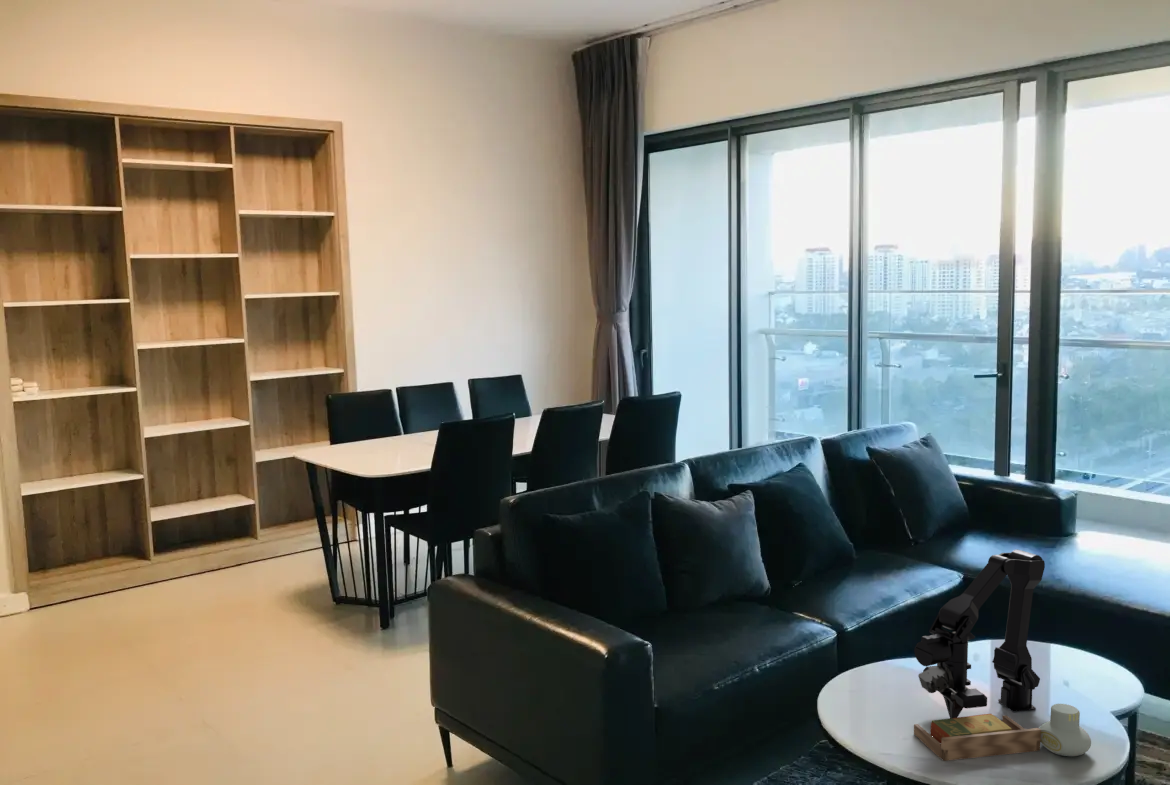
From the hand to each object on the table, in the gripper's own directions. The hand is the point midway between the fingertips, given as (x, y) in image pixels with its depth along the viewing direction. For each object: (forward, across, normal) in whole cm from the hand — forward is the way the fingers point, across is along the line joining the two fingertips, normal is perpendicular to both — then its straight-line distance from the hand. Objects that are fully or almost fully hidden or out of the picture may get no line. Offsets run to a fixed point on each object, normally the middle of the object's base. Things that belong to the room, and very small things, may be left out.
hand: (953, 719), depth 231 cm
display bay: (+1, +10, 0) cm, 10 cm away
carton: (+2, +8, 0) cm, 8 cm away
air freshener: (+1, +17, +17) cm, 24 cm away
